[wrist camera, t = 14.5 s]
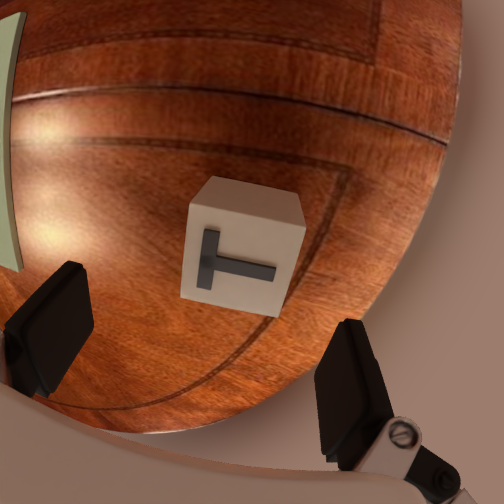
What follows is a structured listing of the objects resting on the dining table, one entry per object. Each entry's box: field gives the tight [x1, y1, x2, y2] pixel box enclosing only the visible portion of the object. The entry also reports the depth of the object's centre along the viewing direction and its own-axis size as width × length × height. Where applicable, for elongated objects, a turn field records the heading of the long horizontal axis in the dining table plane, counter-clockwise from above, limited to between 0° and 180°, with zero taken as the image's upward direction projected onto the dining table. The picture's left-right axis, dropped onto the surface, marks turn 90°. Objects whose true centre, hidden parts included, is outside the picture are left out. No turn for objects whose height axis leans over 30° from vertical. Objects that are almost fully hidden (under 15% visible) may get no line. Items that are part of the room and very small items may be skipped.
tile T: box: [180, 176, 307, 317], centre depth 15 cm, size 5×5×5 cm
